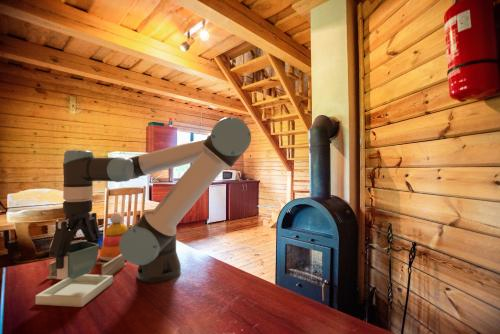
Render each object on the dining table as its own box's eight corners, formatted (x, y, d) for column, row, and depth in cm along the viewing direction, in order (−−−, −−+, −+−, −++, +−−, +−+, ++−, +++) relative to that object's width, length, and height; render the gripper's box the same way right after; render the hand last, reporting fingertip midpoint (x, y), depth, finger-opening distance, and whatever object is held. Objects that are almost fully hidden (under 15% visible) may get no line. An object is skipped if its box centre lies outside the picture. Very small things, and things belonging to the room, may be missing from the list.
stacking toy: (142, 251, 113) (142, 209, 112) (122, 264, 98) (122, 216, 98) (113, 250, 114) (113, 208, 114) (90, 262, 100) (90, 214, 100)
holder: (125, 264, 98) (125, 252, 98) (102, 281, 84) (102, 267, 84) (77, 262, 99) (77, 250, 99) (46, 278, 85) (46, 264, 85)
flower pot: (99, 272, 79) (100, 244, 79) (69, 284, 71) (70, 253, 71) (82, 266, 82) (83, 240, 82) (52, 277, 74) (53, 248, 74)
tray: (112, 282, 83) (112, 275, 83) (81, 306, 69) (81, 298, 69) (73, 280, 84) (73, 273, 84) (35, 304, 70) (35, 295, 70)
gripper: (92, 194, 88) (91, 255, 88) (31, 205, 65) (30, 288, 65) (112, 195, 87) (111, 256, 88) (58, 206, 65) (57, 289, 65)
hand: (77, 270), depth 77 cm, fingers closed on flower pot, 10 cm apart
